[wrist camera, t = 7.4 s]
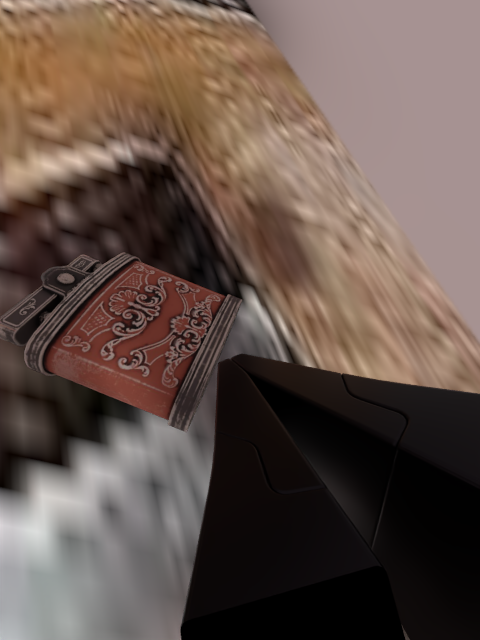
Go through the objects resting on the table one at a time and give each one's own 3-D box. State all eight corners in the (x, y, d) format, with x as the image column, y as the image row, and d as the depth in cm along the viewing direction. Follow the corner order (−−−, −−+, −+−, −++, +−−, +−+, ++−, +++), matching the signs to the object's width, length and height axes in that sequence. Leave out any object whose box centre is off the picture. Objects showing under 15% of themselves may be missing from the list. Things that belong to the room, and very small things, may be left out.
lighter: (234, 321, 18) (98, 267, 18) (247, 287, 15) (88, 223, 15) (183, 440, 13) (-8, 362, 13) (190, 418, 10) (-51, 320, 10)
